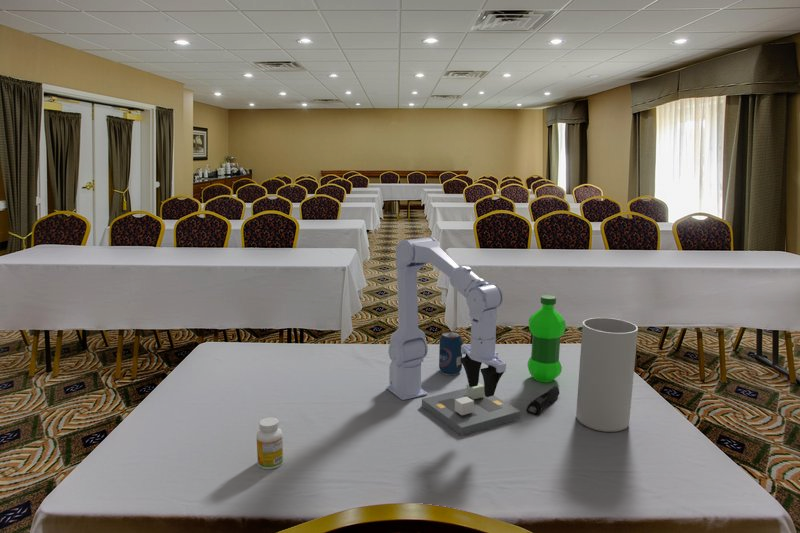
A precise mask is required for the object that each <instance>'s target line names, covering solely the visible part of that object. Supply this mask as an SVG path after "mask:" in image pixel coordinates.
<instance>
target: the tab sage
mask: <svg viewBox="0 0 800 533" xmlns="http://www.w3.org/2000/svg"><path fill="white" fill-rule="evenodd" d="M466 388H467V396H469V397H471V398H472V399H477V398H481V397H485V393H484V384H483V383H480V381H479V382H478V386H475V387H469V383H467V384H466Z"/></svg>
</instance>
